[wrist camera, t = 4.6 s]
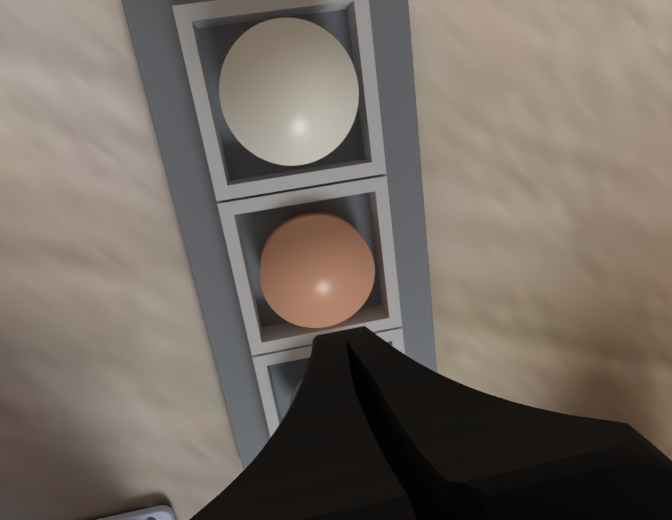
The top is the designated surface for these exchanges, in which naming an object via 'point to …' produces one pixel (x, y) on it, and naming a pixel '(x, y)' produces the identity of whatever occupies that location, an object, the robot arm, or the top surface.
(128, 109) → the top surface
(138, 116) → the top surface
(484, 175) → the top surface
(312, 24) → the ivory button
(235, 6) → the panel
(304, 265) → the terracotta button
